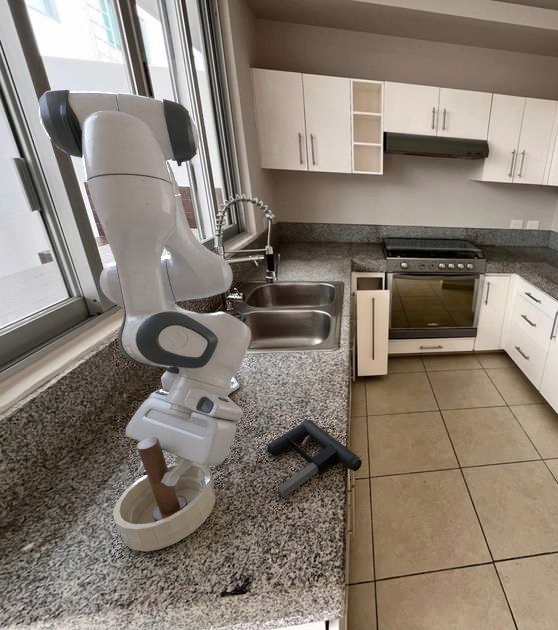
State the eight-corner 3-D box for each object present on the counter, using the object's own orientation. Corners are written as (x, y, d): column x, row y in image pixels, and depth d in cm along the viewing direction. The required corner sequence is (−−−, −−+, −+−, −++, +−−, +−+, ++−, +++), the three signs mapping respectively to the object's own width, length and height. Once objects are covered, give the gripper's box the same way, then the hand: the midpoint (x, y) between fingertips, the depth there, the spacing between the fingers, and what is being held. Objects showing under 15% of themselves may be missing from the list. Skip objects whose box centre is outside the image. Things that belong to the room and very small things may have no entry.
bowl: (131, 502, 64) (122, 478, 62) (215, 474, 70) (209, 451, 68) (116, 570, 53) (104, 544, 51) (217, 530, 59) (210, 505, 57)
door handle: (298, 507, 61) (366, 452, 72) (246, 452, 73) (311, 412, 84) (301, 519, 62) (367, 464, 74) (249, 463, 74) (313, 423, 85)
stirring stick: (156, 508, 62) (130, 438, 56) (189, 496, 64) (167, 428, 58) (152, 531, 58) (125, 458, 52) (187, 518, 60) (165, 447, 54)
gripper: (140, 382, 63) (95, 461, 58) (225, 408, 56) (183, 499, 52) (170, 389, 68) (131, 462, 63) (251, 414, 62) (214, 497, 57)
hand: (155, 479), depth 57 cm, fingers open, 4 cm apart
